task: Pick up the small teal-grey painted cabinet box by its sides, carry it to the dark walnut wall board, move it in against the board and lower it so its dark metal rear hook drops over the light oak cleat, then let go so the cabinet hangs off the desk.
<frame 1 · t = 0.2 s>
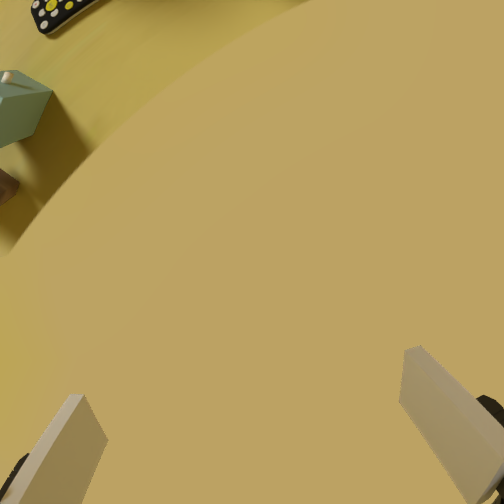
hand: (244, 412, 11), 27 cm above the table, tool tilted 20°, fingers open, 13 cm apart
cabinet: (24, 101, 26), on the table
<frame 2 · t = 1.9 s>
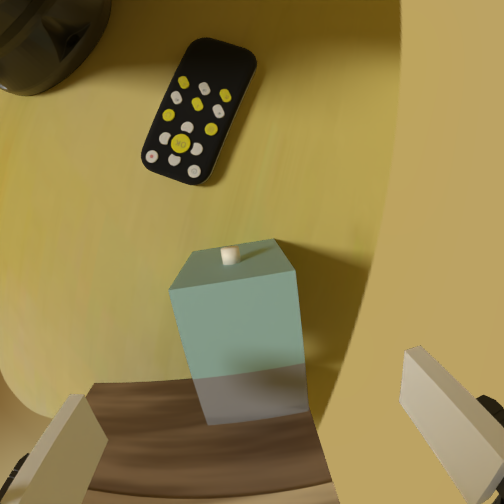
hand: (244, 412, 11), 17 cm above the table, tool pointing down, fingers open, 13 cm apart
wall board: (188, 386, 29), on the table
cabinet: (238, 278, 27), on the table
remote control: (200, 110, 24), on the table
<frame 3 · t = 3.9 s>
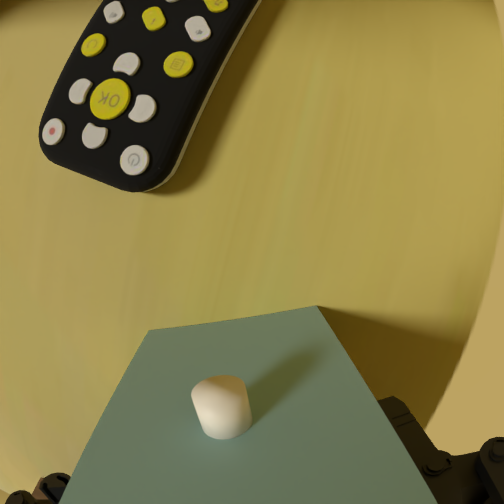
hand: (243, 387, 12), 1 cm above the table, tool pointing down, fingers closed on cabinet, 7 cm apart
cabinet: (243, 379, 13), on the table, touching gripper
remote control: (164, 41, 10), on the table
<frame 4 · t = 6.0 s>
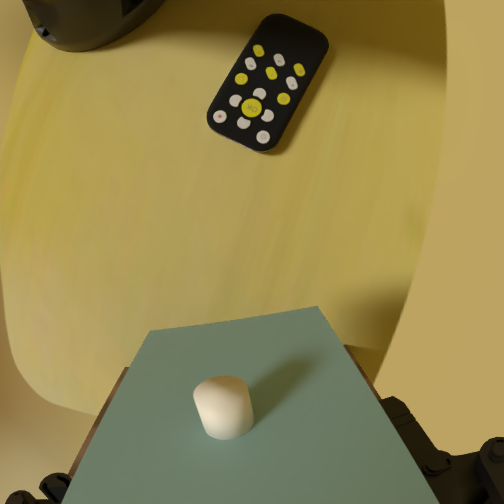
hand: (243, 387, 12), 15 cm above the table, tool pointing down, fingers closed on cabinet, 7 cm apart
wall board: (234, 369, 28), on the table
cabinet: (244, 380, 13), point 14 cm above the table, touching gripper
remote control: (268, 81, 24), on the table
when the fingers open (10 cm above the table, at t = 8.3 s): cabinet drops 1 cm, resting on wall board.
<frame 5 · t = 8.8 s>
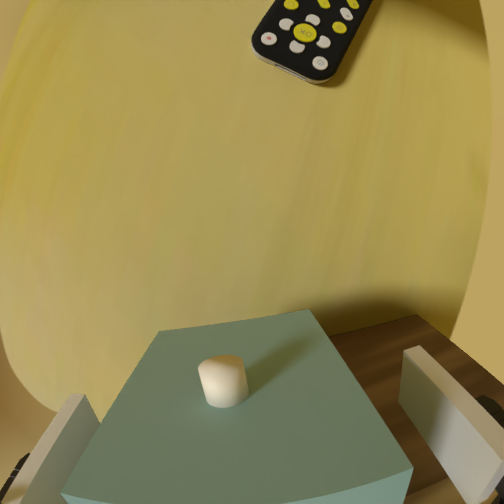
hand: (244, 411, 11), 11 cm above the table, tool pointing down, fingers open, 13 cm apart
wall board: (289, 355, 23), on the table
cabinet: (243, 377, 14), point 8 cm above the table, touching wall board
remote control: (317, 15, 18), on the table
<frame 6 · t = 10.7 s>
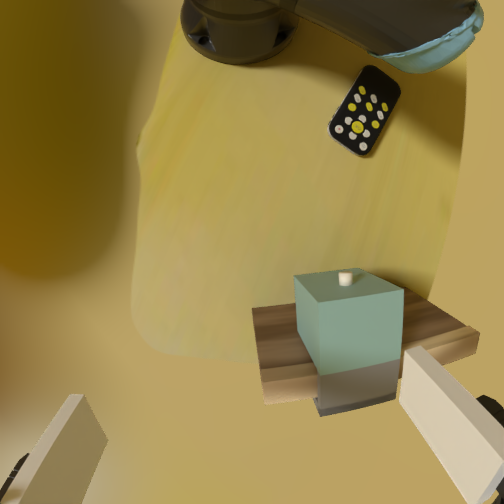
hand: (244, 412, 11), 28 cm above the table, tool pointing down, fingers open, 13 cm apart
wall board: (334, 304, 40), on the table
cabinet: (328, 299, 32), point 8 cm above the table, touching wall board
remote control: (363, 110, 36), on the table
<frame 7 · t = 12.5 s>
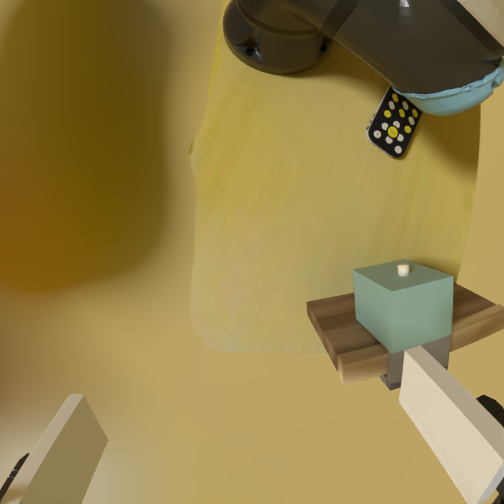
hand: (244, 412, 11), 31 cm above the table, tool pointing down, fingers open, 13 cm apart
wall board: (378, 293, 43), on the table
cabinet: (381, 289, 35), point 8 cm above the table, touching wall board
remote control: (395, 115, 38), on the table
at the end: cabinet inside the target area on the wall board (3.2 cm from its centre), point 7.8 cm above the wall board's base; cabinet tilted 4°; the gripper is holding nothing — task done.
